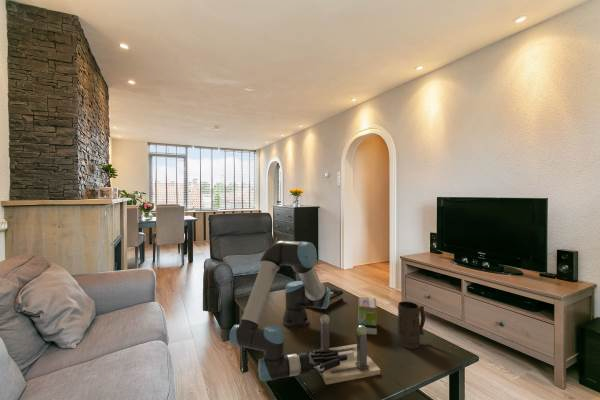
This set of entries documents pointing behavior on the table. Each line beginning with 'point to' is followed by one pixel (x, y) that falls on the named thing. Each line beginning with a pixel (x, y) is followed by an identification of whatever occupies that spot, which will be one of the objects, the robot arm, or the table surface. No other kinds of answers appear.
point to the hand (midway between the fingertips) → (352, 354)
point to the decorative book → (332, 299)
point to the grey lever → (324, 332)
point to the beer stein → (410, 324)
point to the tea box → (368, 314)
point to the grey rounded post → (361, 348)
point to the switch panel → (348, 368)
